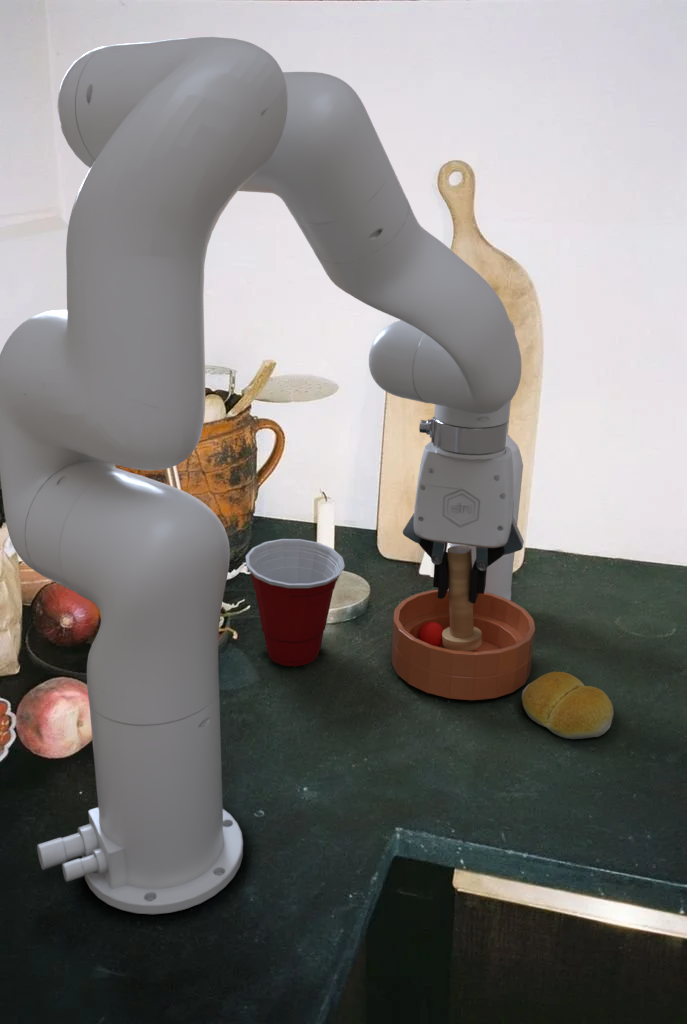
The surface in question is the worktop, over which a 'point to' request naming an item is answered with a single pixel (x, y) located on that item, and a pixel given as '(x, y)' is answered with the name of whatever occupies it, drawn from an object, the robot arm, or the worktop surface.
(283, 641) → the plastic cup
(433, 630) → the tomato
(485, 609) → the bowl
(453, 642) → the muddler
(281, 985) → the worktop surface
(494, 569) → the bottle
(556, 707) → the bread roll
